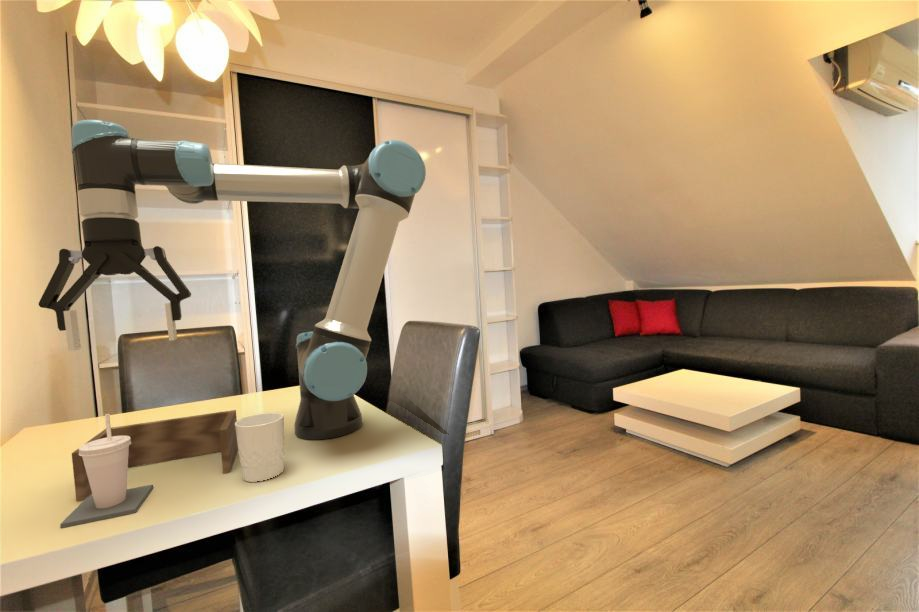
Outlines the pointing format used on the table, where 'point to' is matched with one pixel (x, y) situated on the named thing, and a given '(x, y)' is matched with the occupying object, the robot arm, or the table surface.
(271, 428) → the white cup
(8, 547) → the table surface
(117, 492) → the smoothie
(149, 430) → the wooden enclosure
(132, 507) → the mat
